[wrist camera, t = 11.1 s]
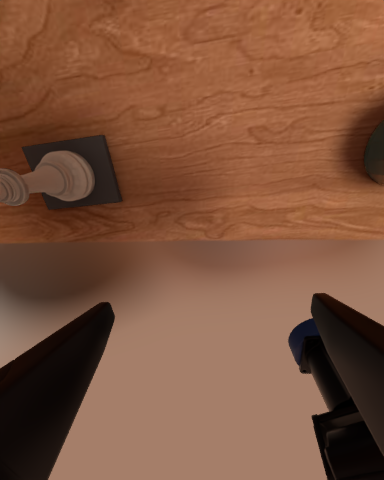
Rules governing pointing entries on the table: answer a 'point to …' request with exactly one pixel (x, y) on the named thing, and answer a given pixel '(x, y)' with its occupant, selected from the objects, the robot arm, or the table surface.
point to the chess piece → (49, 179)
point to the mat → (97, 158)
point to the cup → (375, 155)
